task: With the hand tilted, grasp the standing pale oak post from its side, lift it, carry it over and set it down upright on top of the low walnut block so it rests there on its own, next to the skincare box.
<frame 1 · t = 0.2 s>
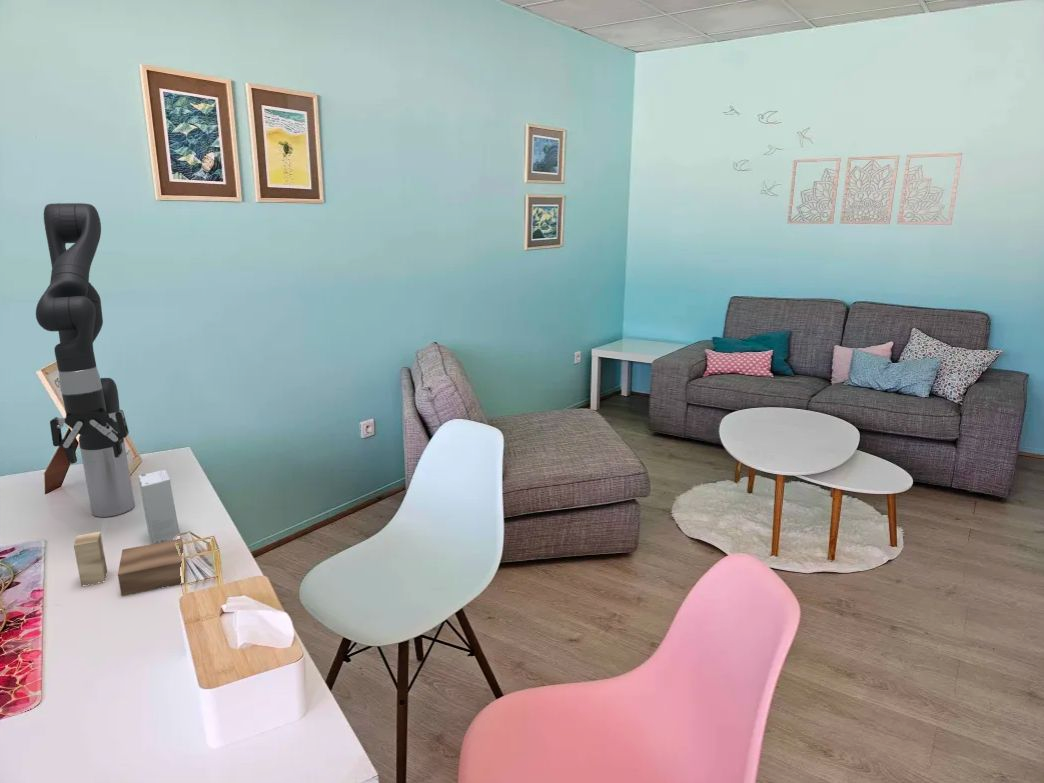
hand: (96, 459, 153), 18 cm above the table, tool pointing down, fingers open, 8 cm apart
oak post: (94, 579, 139), on the table
walnut block: (155, 577, 140), on the table
skincare box: (164, 538, 156), on the table
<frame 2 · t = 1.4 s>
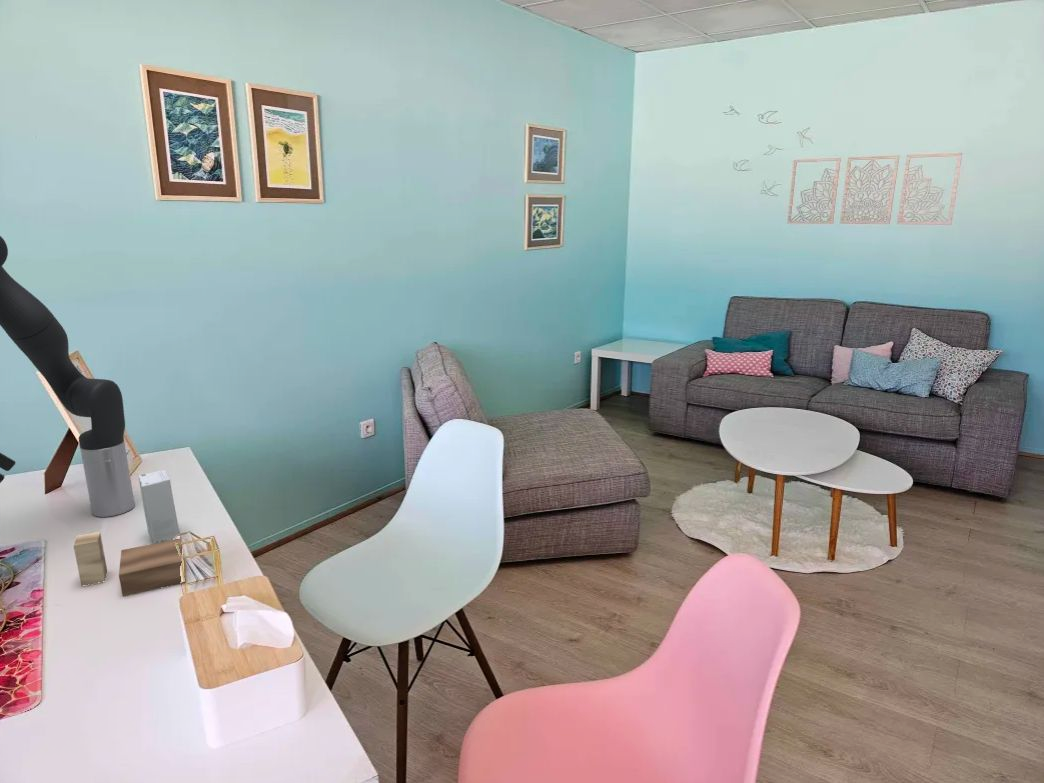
hand: (6, 474, 132), 23 cm above the table, tool tilted 45°, fingers open, 8 cm apart
nothing on the table moved.
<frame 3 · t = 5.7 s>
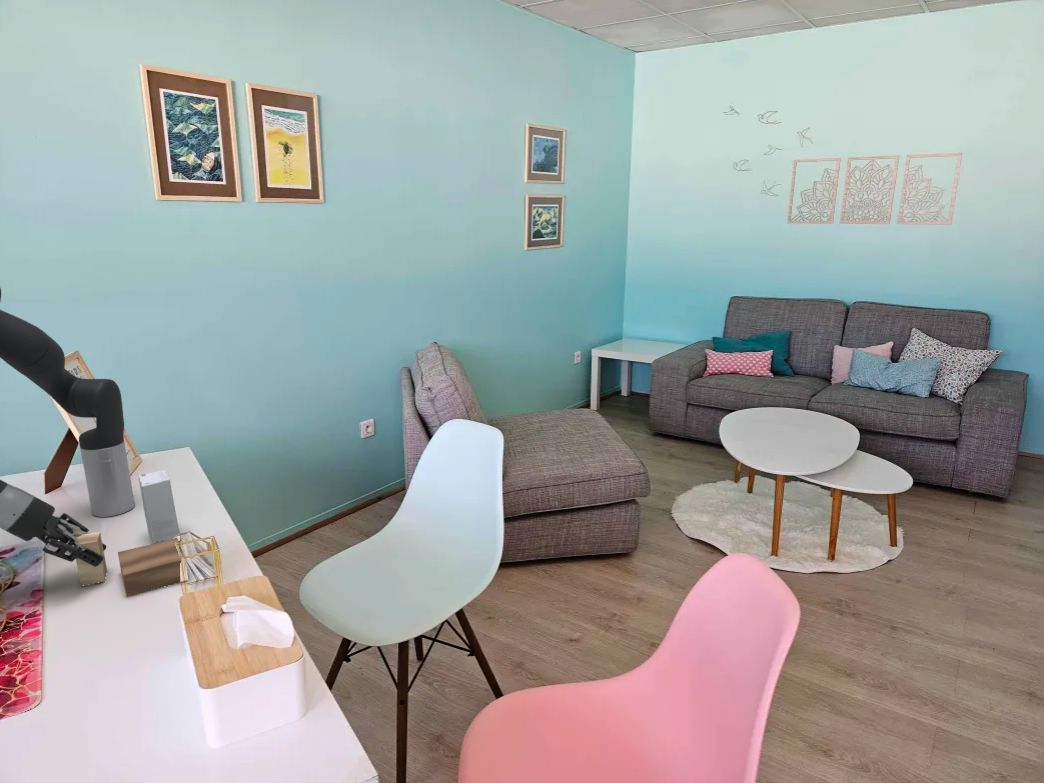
hand: (101, 556, 138), 5 cm above the table, tool tilted 45°, fingers closed on oak post, 4 cm apart
oak post: (94, 578, 139), on the table, touching gripper
everything else where it was.
when the fingers open (11 cm above the table, at t = 10.0 s): oak post drops 1 cm, resting on walnut block.
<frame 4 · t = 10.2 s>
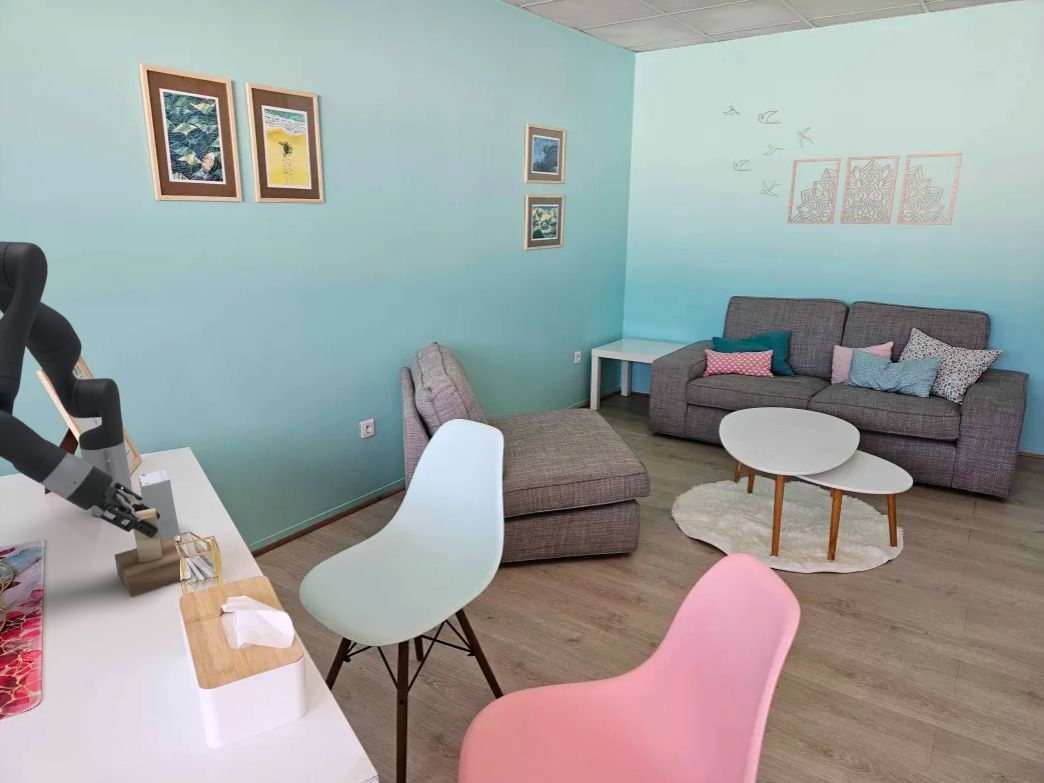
hand: (156, 526, 137), 11 cm above the table, tool tilted 45°, fingers open, 6 cm apart
oak post: (151, 555, 138), point 5 cm above the table, touching walnut block
walnut block: (155, 577, 140), on the table, touching oak post
everything else where it was.
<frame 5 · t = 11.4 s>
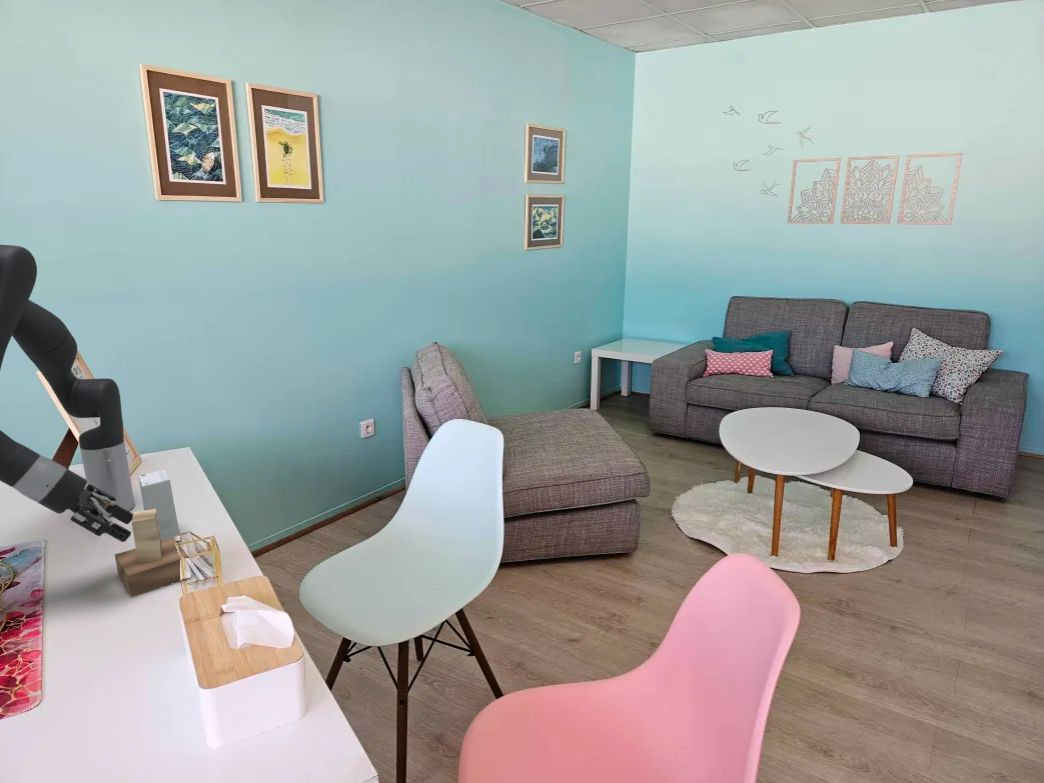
hand: (129, 528, 135), 11 cm above the table, tool tilted 45°, fingers open, 8 cm apart
oak post: (150, 556, 138), point 5 cm above the table
walnut block: (155, 577, 140), on the table
everything else where it was.
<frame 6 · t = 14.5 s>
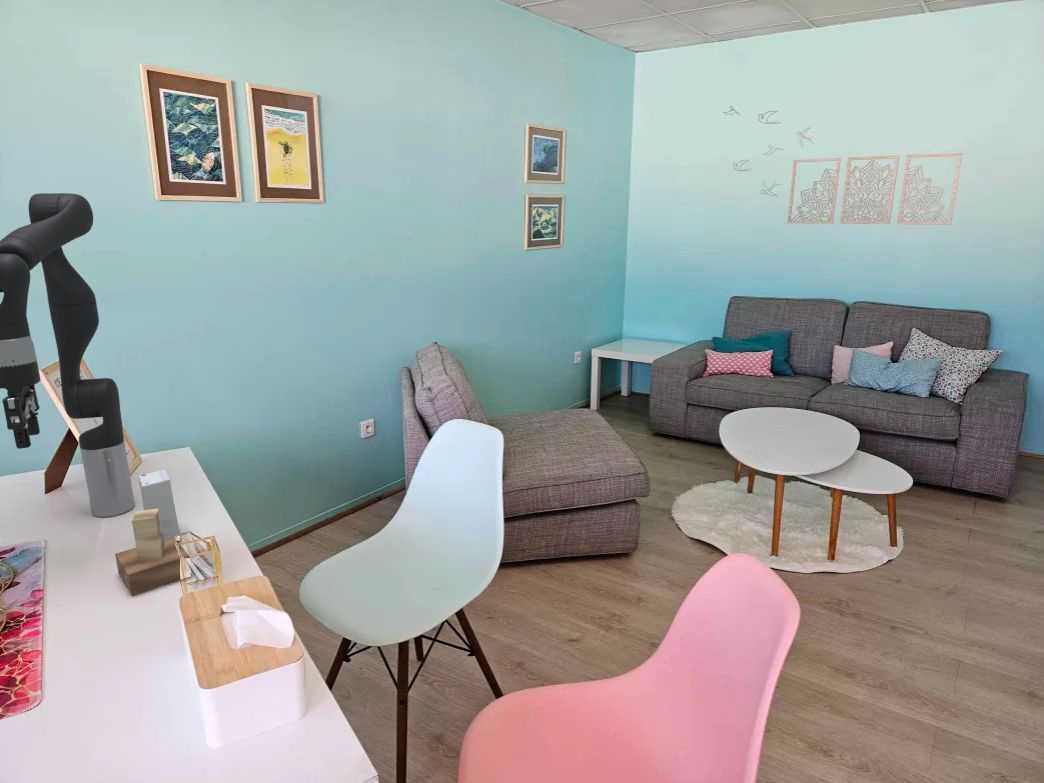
hand: (29, 440, 135), 28 cm above the table, tool pointing down, fingers open, 8 cm apart
oak post: (152, 555, 138), point 5 cm above the table, touching walnut block
walnut block: (155, 576, 140), on the table, touching oak post
everything else where it was.
at the end: oak post inside the target area on the walnut block (0.3 cm from its centre), point 5.1 cm above the walnut block's base; oak post tilted 2°; the gripper is holding nothing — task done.
